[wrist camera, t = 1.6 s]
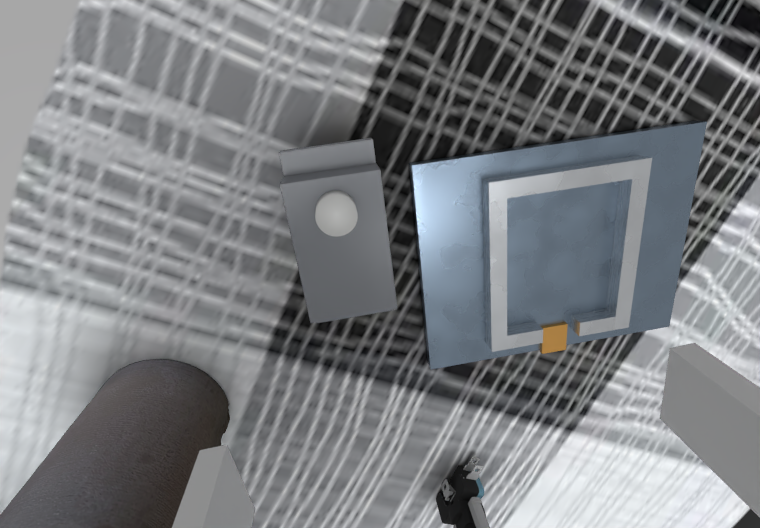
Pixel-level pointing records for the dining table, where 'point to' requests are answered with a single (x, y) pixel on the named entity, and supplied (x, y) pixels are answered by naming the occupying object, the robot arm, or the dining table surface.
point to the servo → (339, 229)
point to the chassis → (552, 241)
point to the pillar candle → (126, 452)
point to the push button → (463, 498)
